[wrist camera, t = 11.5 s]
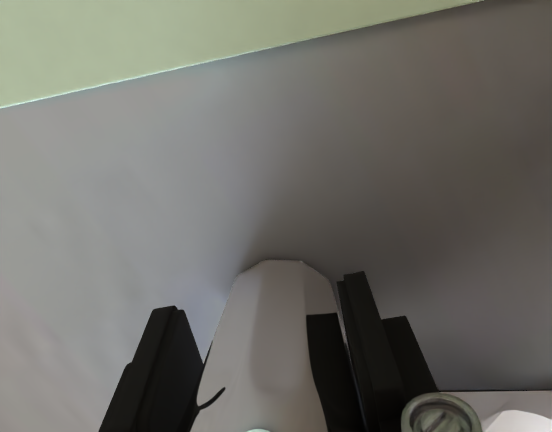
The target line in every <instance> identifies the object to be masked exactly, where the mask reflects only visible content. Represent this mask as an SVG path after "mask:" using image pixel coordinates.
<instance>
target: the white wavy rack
mask: <svg viewBox="0 0 552 432" xmlns="http://www.w3.org/2000/svg"><path fill="white" fill-rule="evenodd" d="M439 393H447V394H450V395H453V396H456V397H459V398H460V399H462V400H463V401H465V402H466V403H468V404H469V405H470V406H471V407H472V408H473V409H474V411H475V412H476V413H477V415H478V418H479V420H480V422H481V426H482V430H483V432H552V391H493V392H439Z"/></svg>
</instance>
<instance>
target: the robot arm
mask: <svg viewBox="0 0 552 432" xmlns="http://www.w3.org/2000/svg"><path fill="white" fill-rule="evenodd" d="M337 287H338V293H339V298H340V303H341V309H342V314H343V320H344V325H345V331H346V336H347V342H348V347H349V353H350V358H351V364H352V369H353V374H354V378H355V382H356V387H357V391H358V395H359V399H360V404H361V408H362V412H363V416H364V421H365V425H366V429H367V432H483V430H482V426H481V422H480V420H479V418H478V415H477V413H476V412H475V411H474V409H473V408H472V407H471V406H470V405H469V404H468V403H466V402H465V401H463V400H462V399H460V398H459V397H456V396H453V395H450V394H447V393H439V391H438V389H437V387H436V384H435V382H434V380H433V377H432V375H431V373H430V370H429V368H428V366H427V363H426V361H425V359H424V356H423V354H422V352H421V349H420V347H419V345H418V342H417V340H416V338H415V335H414V333H413V331H412V329H411V326H410V324H409V322H408V319H407V318H406V316H399V317H394V318H388V319H382V320H381V318H380V316H379V313H378V310H377V307H376V304H375V301H374V298H373V295H372V292H371V289H370V286H369V284H368V281H367V278H366V275H365V272H364V271H362V272H356V273H351V274H345V275H344V280H343V281H338V282H337ZM202 367H203V362H202V359H201V356H200V354H199V351H198V348H197V345H196V342H195V339H194V337H193V334H192V331H191V328H190V325H189V322H188V320H187V317H186V314H185V312H184V310H178V309H177V308H176V306H168V307H163V308H157V309H154V310H153V311H152V313H151V315H150V318H149V320H148V323H147V325H146V328H145V330H144V333H143V335H142V338H141V340H140V343H139V345H138V348H137V350H136V353H135V355H134V358H133V360H132V362H131V363H129V364H127V365H126V367H125V369H124V371H123V373H122V376H121V378H120V381H119V383H118V386H117V388H116V390H115V393H114V395H113V398H112V400H111V403H110V405H109V407H108V410H107V412H106V415H105V417H104V420H103V422H102V424H101V427H100V429H99V432H176V430H177V427H178V425H179V423H180V421H181V419H182V417H183V414H184V412H185V410H186V408H187V405H188V403H189V400H190V398H191V396H192V393H193V390H194V388H195V385H196V383H197V380H198V377H199V375H200V372H201V370H202Z"/></svg>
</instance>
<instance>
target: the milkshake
mask: <svg viewBox="0 0 552 432" xmlns="http://www.w3.org/2000/svg"><path fill="white" fill-rule="evenodd" d="M176 432H367V429H366V425H365V421H364V416H363V412H362V408H361V404H360V399H359V395H358V391H357V387H356V382H355V378H354V374H353V370H352V365H351V361H350V357H349V352H348V348H347V344H346V340H345V335H344V331H343V327H342V322H341V318H340V314H339V310H338V307H337V304H336V300H335V297H334V293H333V290H332V286H331V283H330V280H328V279H327V278H325V277H324V276H323V275H321V274H320V273H318V272H317V271H315V270H314V269H312V268H311V267H310V266H308V265H307V264H305V263H304V262H303V261H293V260H272V259H265V260H263V261H262V262H260V263H258V264H257V265H255V266H253V267H251V268H250V269H248V270H246V271H244V272H243V273H241V274H239V275H237V276H236V278H235V281H234V283H233V286H232V289H231V292H230V294H229V297H228V300H227V302H226V305H225V308H224V310H223V313H222V316H221V318H220V321H219V324H218V326H217V329H216V332H215V335H214V337H213V340H212V343H211V345H210V348H209V351H208V353H207V356H206V359H205V362H204V364H203V367H202V370H201V372H200V375H199V377H198V380H197V383H196V385H195V388H194V390H193V393H192V396H191V398H190V400H189V403H188V405H187V408H186V410H185V412H184V414H183V417H182V419H181V421H180V423H179V425H178V427H177V430H176Z"/></svg>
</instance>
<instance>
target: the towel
mask: <svg viewBox="0 0 552 432" xmlns="http://www.w3.org/2000/svg"><path fill="white" fill-rule="evenodd" d="M480 1H485V0H0V108H4V107H9V106H13V105H18V104H22V103H27V102H31V101H36V100H40V99H45V98H49V97H54V96H58V95H63V94H67V93H72V92H76V91H80V90H85V89H89V88H94V87H98V86H103V85H107V84H112V83H116V82H121V81H125V80H130V79H134V78H139V77H143V76H148V75H152V74H157V73H161V72H166V71H170V70H175V69H179V68H184V67H188V66H193V65H197V64H202V63H206V62H211V61H215V60H220V59H224V58H229V57H233V56H238V55H242V54H247V53H251V52H256V51H260V50H265V49H269V48H274V47H278V46H283V45H287V44H292V43H296V42H301V41H305V40H310V39H314V38H319V37H323V36H328V35H332V34H337V33H341V32H346V31H350V30H354V29H359V28H363V27H368V26H372V25H377V24H381V23H386V22H390V21H395V20H399V19H404V18H408V17H413V16H417V15H422V14H426V13H431V12H435V11H440V10H444V9H449V8H453V7H458V6H462V5H467V4H471V3H476V2H480Z"/></svg>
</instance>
